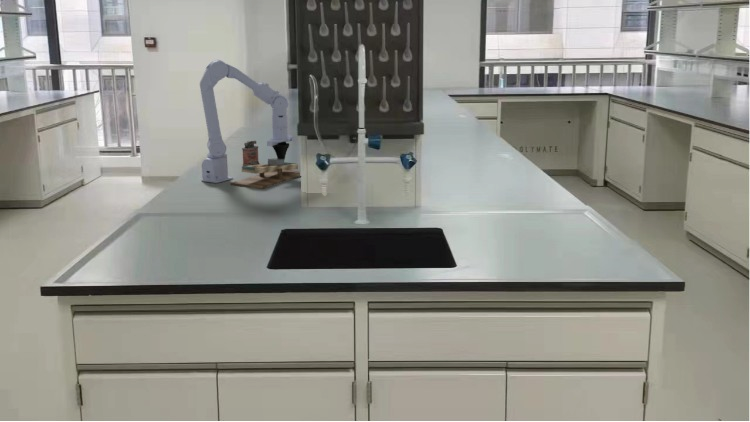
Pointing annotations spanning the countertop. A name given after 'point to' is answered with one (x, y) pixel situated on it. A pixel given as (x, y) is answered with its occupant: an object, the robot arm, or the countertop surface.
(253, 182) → the stand
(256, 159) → the red tin
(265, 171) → the beam
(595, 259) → the countertop surface
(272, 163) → the grey block
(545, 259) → the countertop surface
